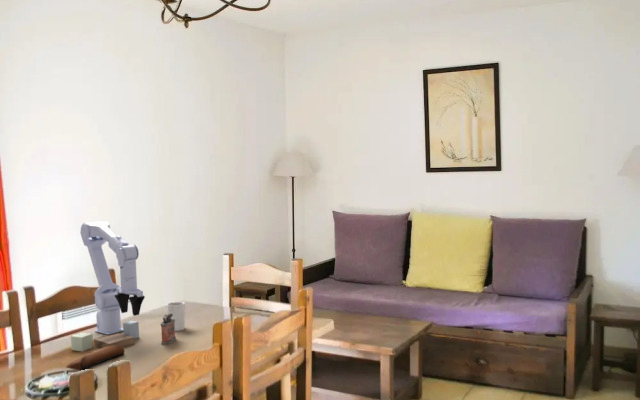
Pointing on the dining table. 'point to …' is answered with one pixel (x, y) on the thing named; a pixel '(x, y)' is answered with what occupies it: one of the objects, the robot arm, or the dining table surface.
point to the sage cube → (82, 341)
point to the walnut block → (114, 340)
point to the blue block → (131, 329)
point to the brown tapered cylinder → (97, 357)
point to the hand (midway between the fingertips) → (130, 313)
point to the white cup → (177, 314)
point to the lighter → (168, 329)
